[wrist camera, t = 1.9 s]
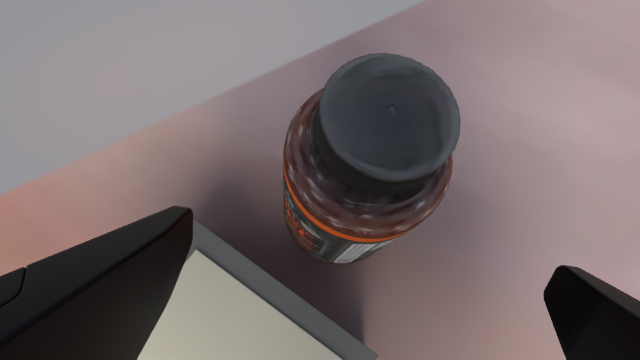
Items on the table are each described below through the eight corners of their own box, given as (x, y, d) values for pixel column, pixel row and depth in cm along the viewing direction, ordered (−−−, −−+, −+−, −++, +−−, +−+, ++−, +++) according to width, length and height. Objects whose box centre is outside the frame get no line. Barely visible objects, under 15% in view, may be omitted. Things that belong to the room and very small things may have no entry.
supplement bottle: (265, 189, 21) (244, 59, 10) (356, 148, 22) (422, -4, 11) (313, 287, 19) (348, 256, 8) (408, 236, 20) (541, 155, 10)
